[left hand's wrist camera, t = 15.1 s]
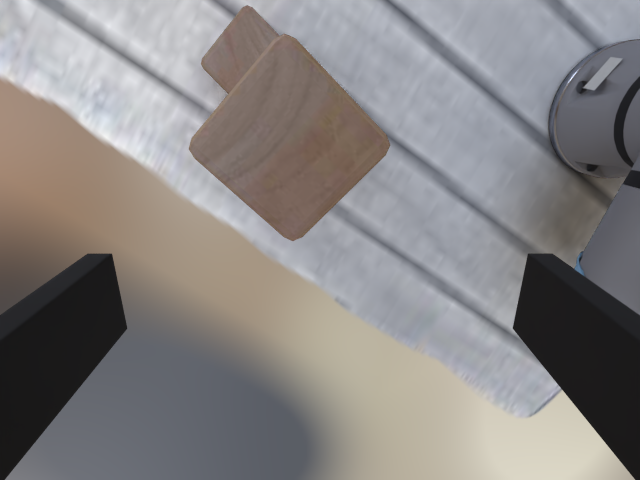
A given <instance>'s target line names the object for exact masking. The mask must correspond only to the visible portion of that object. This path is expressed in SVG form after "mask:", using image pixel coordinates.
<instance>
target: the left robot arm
mask: <svg viewBox="0 0 640 480" xmlns="http://www.w3.org/2000/svg"><path fill="white" fill-rule="evenodd" d="M549 132H550V138H551V142H552V145H553V147H554V150H555V152H556V153H557V155H558V156H559V158H560V159H561V160H562V161H563V162H564V163H565V164H566V165H567V166H569V167H570V168H572V169H574V170H576V171H578V172H580V173H584V174H587V175H590V176H594V177H602V178H617V177H625V176H627V178H626V179H625V181H624V183H623V184H622V185H621V187H620V189H619V191H618V192H617V194H616V196H615V198H614V199H613V201H612V203H611V205H610V206H609V208H608V210H607V212H606V213H605V215H604V217H603V219H602V220H601V222H600V224H599V226H598V227H597V229H596V231H595V233H594V234H593V236H592V238H591V240H590V241H589V243H588V245H587V246H586V248H585V250H584V251H583V252H581V253H580V254H579V256H578V258H577V263H576V267H575V269H573V268H572V267H571V266H569V265H568V264H566V263H565V262H563V261H562V260H561V259H559V258H558V257H556V256H555V255H553V254H528V257H527V261H526V266H525V271H524V276H523V281H522V286H521V291H520V296H519V300H518V305H517V310H516V315H515V320H514V325H513V329H514V331H515V332H516V333H517V334H518V335H519V337H520V338H521V339H522V340H523V342H524V343H525V344H526V345H527V347H528V348H529V349H530V350H531V352H532V353H533V354H534V355H535V356H536V358H537V359H538V360H539V361H540V363H541V364H542V365H543V366H544V368H545V369H546V370H547V371H548V372H549V374H550V375H551V376H552V377H553V379H554V380H555V381H556V382H557V384H558V385H559V386H560V387H561V389H562V390H563V391H564V392H565V393H566V395H567V396H568V397H569V398H570V400H571V401H572V402H573V403H574V405H575V406H576V407H577V408H578V409H579V411H580V412H581V413H582V414H583V416H584V417H585V418H586V419H587V421H588V422H589V423H590V424H591V426H592V427H593V428H594V429H595V430H596V432H597V433H598V434H599V435H600V437H601V438H602V439H603V440H604V442H605V443H606V444H607V445H608V447H609V448H610V449H611V450H612V451H613V453H614V454H615V455H616V456H617V458H618V459H619V460H620V461H621V463H622V464H623V465H624V466H625V467H626V469H627V470H628V471H629V472H630V474H631V475H632V476H633V477H634V479H635V480H640V39H637V40H629V41H623V42H618V43H614V44H611V45H608V46H605V47H603V48H601V49H599V50H597V51H595V52H593V53H592V54H590V55H589V56H587V57H586V58H585V59H584V60H582V61H581V62H580V63H579V64H578V65H577V66H576V67H575V68H574V69H573V70H572V71H571V72H570V73H569V75H568V76H567V77H566V78H565V80H564V81H563V83H562V84H561V86H560V88H559V90H558V92H557V94H556V96H555V99H554V101H553V104H552V108H551V112H550V119H549ZM631 186H632V187H631ZM634 187H636V188H634ZM638 188H639V189H638ZM126 329H127V325H126V320H125V315H124V310H123V305H122V301H121V296H120V291H119V286H118V281H117V276H116V271H115V266H114V261H113V257H112V254H87V255H85V256H84V257H82V258H81V259H79V260H78V261H77V262H75V263H74V264H72V265H71V266H70V267H68V268H67V269H65V270H64V271H62V272H61V273H59V274H58V275H57V276H55V277H54V278H52V279H51V280H50V281H48V282H47V283H45V284H44V285H42V286H41V287H40V288H38V289H37V290H35V291H34V292H33V293H31V294H30V295H28V296H27V297H25V298H24V299H22V300H21V301H20V302H18V303H17V304H15V305H14V306H13V307H11V308H10V309H8V310H7V311H5V312H4V313H3V314H1V315H0V480H5V479H6V477H7V476H8V475H9V474H10V472H11V471H12V470H13V469H14V467H15V466H16V465H17V464H18V463H19V461H20V460H21V459H22V458H23V456H24V455H25V454H26V453H27V451H28V450H29V449H30V448H31V447H32V445H33V444H34V443H35V442H36V440H37V439H38V438H39V437H40V435H41V434H42V433H43V432H44V430H45V429H46V428H47V427H48V426H49V424H50V423H51V422H52V421H53V419H54V418H55V417H56V416H57V414H58V413H59V412H60V411H61V409H62V408H63V407H64V406H65V405H66V403H67V402H68V401H69V400H70V398H71V397H72V396H73V395H74V393H75V392H76V391H77V390H78V388H79V387H80V386H81V385H82V384H83V382H84V381H85V380H86V379H87V377H88V376H89V375H90V374H91V372H92V371H93V370H94V369H95V367H96V366H97V365H98V364H99V363H100V361H101V360H102V359H103V358H104V356H105V355H106V354H107V353H108V352H109V350H110V349H111V348H112V347H113V345H114V344H115V343H116V342H117V340H118V339H119V338H120V337H121V335H122V334H123V333H124V332H125V331H126Z"/></svg>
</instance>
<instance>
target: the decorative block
mask: <svg viewBox="0 0 640 480" xmlns="http://www.w3.org/2000/svg"><path fill="white" fill-rule="evenodd" d="M201 65H202V67H203V69H204V70H205V71H206V72H207V73H208V74H209V75H210V76H211V77H212V78H213V79H214V80H215V81H216V82H217V83H218V84H219V85H220V86H221V87H222V88H223V89H224V90H225V91H226V92H227V93H228V95H227V96H226V98H225V99H224V100H223V101H222V102H221V104H220V105H219V106H218V107H217V108H216V110H215V111H214V112H213V113H212V114H211V116H210V117H209V118H208V119H207V120H206V122H205V123H204V124H203V125H202V126H201V128H200V129H199V130H198V131H197V132H196V134H195V135H194V136H193V137H192V139H191V143H190V146H189V150H190V152H191V153H192V155H193V157H194V158H195V159H196V160H197V161H198V162H199V163H200V164H202V165H203V166H204V167H205V168H206V169H207V170H208V171H210V172H211V173H212V174H213V175H214V176H215V177H216V178H218V179H219V180H220V181H221V182H222V183H223V184H224V185H225V186H227V187H228V188H229V189H230V190H231V191H232V192H233V193H235V194H236V195H237V196H238V197H239V198H240V199H241V200H242V201H244V202H245V203H246V204H247V205H248V206H249V207H250V208H252V209H253V210H254V211H255V212H256V213H257V214H258V215H260V216H261V217H262V218H263V219H264V220H265V221H266V222H267V223H269V224H270V225H271V226H272V227H273V228H274V229H275V230H277V231H278V232H279V233H280V234H281V235H282V236H283V237H285V238H287V239H289V240H291V241H294V240H296V239H299V238H301V237H303V236H304V235H305V234H306V233H307V232H308V231H309V230H310V229H311V228H312V227H313V226H314V225H315V224H316V223H317V222H318V221H319V220H320V219H321V218H322V217H323V216H324V215H325V214H326V213H327V212H328V211H329V210H330V209H331V208H332V207H333V206H334V205H335V204H336V203H337V202H338V201H339V200H340V199H341V198H342V197H344V196H345V195H346V194H347V193H348V192H349V191H350V190H351V189H352V188H353V187H354V186H355V185H356V184H357V183H358V182H359V181H360V180H361V179H362V178H363V177H364V176H365V175H366V174H367V173H368V172H369V171H370V170H371V169H372V168H373V167H374V166H375V165H376V164H377V163H378V162H379V161H380V160H381V159H382V158H383V157H384V156H385V155H386V153H387V151H388V149H389V147H390V143H389V140H388V138H387V135H386V134H385V133H384V132H383V131H382V130H381V129H380V128H379V127H378V125H377V124H376V123H375V122H374V121H373V120H372V119H371V118H370V117H369V116H368V115H367V114H366V113H365V112H364V111H363V110H362V109H361V107H360V106H359V105H358V104H357V103H356V102H355V101H354V100H353V99H352V98H351V97H350V96H349V95H348V94H347V93H346V92H345V90H344V89H343V88H342V87H341V86H340V85H339V84H338V83H337V82H336V81H335V80H334V79H333V78H332V77H331V76H330V75H329V74H328V72H327V71H326V70H325V69H324V68H323V67H322V66H321V65H320V64H319V63H318V62H317V61H316V60H315V59H314V58H313V57H312V55H311V54H310V53H309V52H308V51H307V50H306V49H305V48H304V47H303V46H302V45H301V44H300V43H299V42H298V41H297V40H296V39H295V38H293V37H291V36H289V35H286V34H283V35H281V36H279V35H278V34H277V33H276V32H275V31H274V30H273V29H272V28H271V26H270V25H269V24H268V23H267V22H266V21H265V20H264V19H263V18H262V17H261V16H260V15H259V14H258V13H257V12H256V11H255V10H254V9H253V8H252V7H250V6H248V5H247V6H245V7H243V8H242V9H241V10H240V11H239V13H238V14H237V15H236V16H235V18H234V19H233V20H232V21H231V23H230V24H229V25H228V27H227V28H226V29H225V30H224V32H223V33H222V34H221V35H220V37H219V38H218V39H217V41H216V42H215V43H214V44H213V46H212V47H211V48H210V49H209V51H208V52H207V53H206V54H205V56H204V57H203V58H202V62H201Z"/></svg>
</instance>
